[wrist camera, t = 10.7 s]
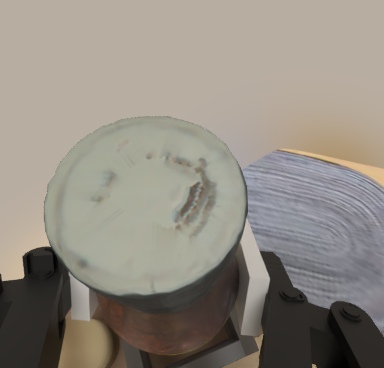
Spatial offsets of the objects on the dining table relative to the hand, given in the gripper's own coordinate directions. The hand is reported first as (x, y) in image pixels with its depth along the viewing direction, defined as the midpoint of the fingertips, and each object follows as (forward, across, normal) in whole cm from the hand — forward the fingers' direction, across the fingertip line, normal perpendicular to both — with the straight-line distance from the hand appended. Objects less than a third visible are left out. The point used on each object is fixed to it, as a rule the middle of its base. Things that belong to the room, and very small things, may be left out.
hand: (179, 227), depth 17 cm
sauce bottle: (+4, 0, -9) cm, 9 cm away
